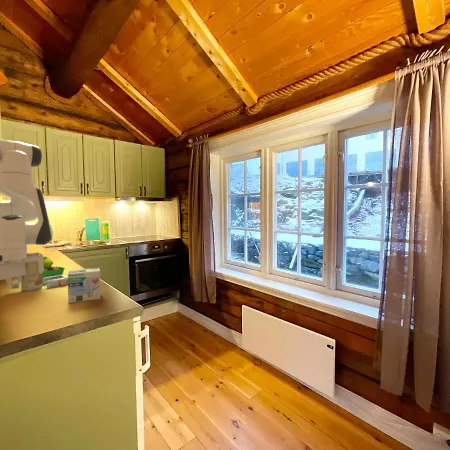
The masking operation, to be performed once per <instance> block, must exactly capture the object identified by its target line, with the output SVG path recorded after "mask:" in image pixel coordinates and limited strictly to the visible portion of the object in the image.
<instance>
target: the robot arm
mask: <svg viewBox="0 0 450 450" xmlns="http://www.w3.org/2000/svg"><path fill="white" fill-rule="evenodd" d="M43 157H44V156H43V152H42V150H41V148H40V146H37V145H34V144H32V143H31V144H29V143H24V142H21V141H15V140H10V139H9V140H7V139H0V194H1V195H4V196H6V197H9V198H10V200H9V201H8V200H7V201H6V200H0V281H3V280H5V281H6V283H7V284H8V285H9V289H10V290H15V289H19V288H20V284H21V281H22V277H23V276H25V275H26V269H25V263H26V262H30V261H38V264H39V274H42V273H43V271H44V267H43V262H42V261H43V257H44V255H43V254H42V253H40V252H30V253H28V245H29V246H30V245H37V246H39V245H41V246H43V245H45V246H46V245H47V244H48V243H50V242H52V240H53V238H54V231H53V228H52V225H51V223H50V219H49V215H48V210H47V208H46V203H45V198H44V195H43V192H42V190H41V189H40V187H38V186H36V185H35V183H34V180H33V170H32V168H33V167H38V166H40V165H41V164H42V161H43V159H44V158H43ZM36 220H37V222H32V221H36ZM15 278H16V282H15V283H12V281H13V279H15Z"/></svg>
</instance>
